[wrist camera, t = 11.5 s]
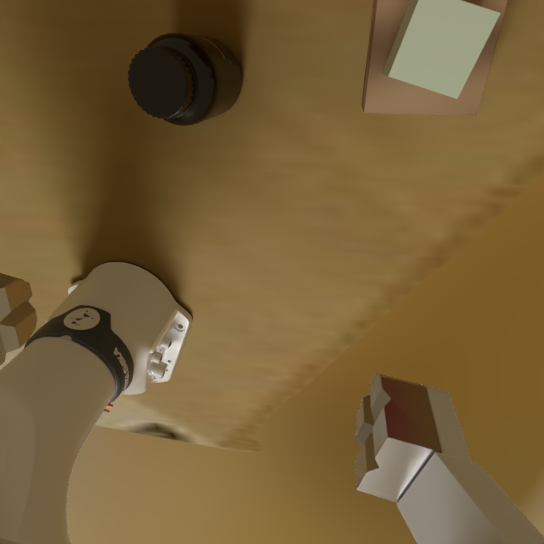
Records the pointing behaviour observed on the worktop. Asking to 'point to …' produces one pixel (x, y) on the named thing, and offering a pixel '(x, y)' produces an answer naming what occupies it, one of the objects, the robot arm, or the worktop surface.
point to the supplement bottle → (185, 78)
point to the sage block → (439, 44)
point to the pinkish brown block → (410, 98)
